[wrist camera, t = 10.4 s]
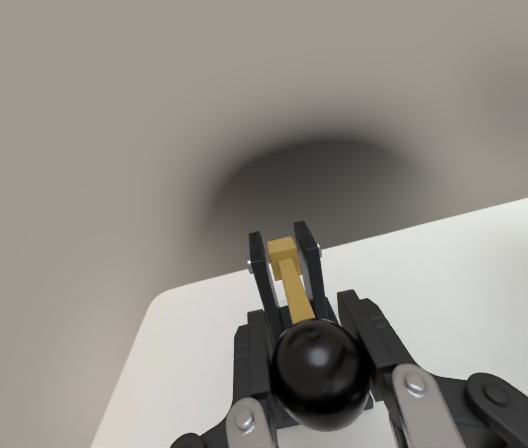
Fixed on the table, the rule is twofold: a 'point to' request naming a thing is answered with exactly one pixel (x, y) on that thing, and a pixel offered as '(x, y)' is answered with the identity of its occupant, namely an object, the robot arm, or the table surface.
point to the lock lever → (314, 356)
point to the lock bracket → (314, 290)
